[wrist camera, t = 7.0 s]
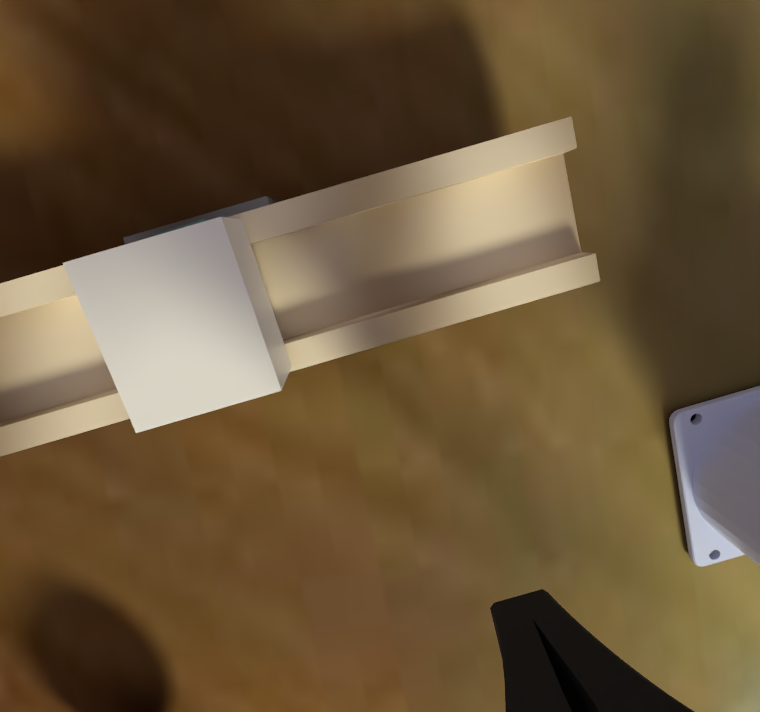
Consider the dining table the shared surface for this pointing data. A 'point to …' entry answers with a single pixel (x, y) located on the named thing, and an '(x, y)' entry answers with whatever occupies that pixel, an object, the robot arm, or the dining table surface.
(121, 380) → the rider
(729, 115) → the dining table surface
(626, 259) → the dining table surface
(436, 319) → the beam
